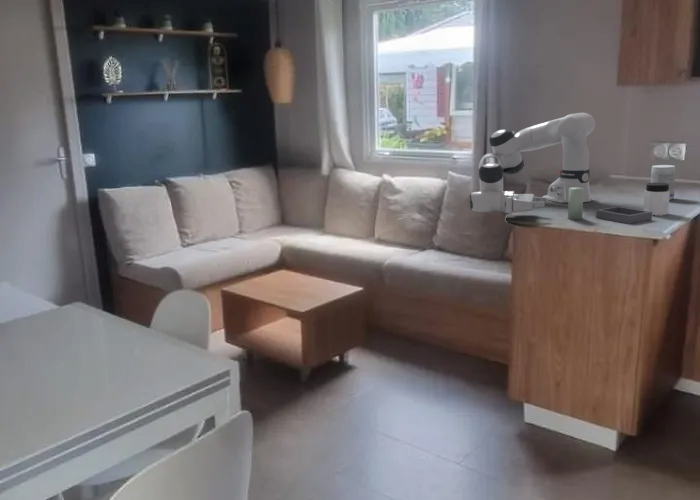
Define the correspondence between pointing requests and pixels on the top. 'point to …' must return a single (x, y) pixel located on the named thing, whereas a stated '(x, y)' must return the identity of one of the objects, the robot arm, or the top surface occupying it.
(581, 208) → the pale green cylinder
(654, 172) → the supplement tub
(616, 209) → the tray
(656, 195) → the jar
